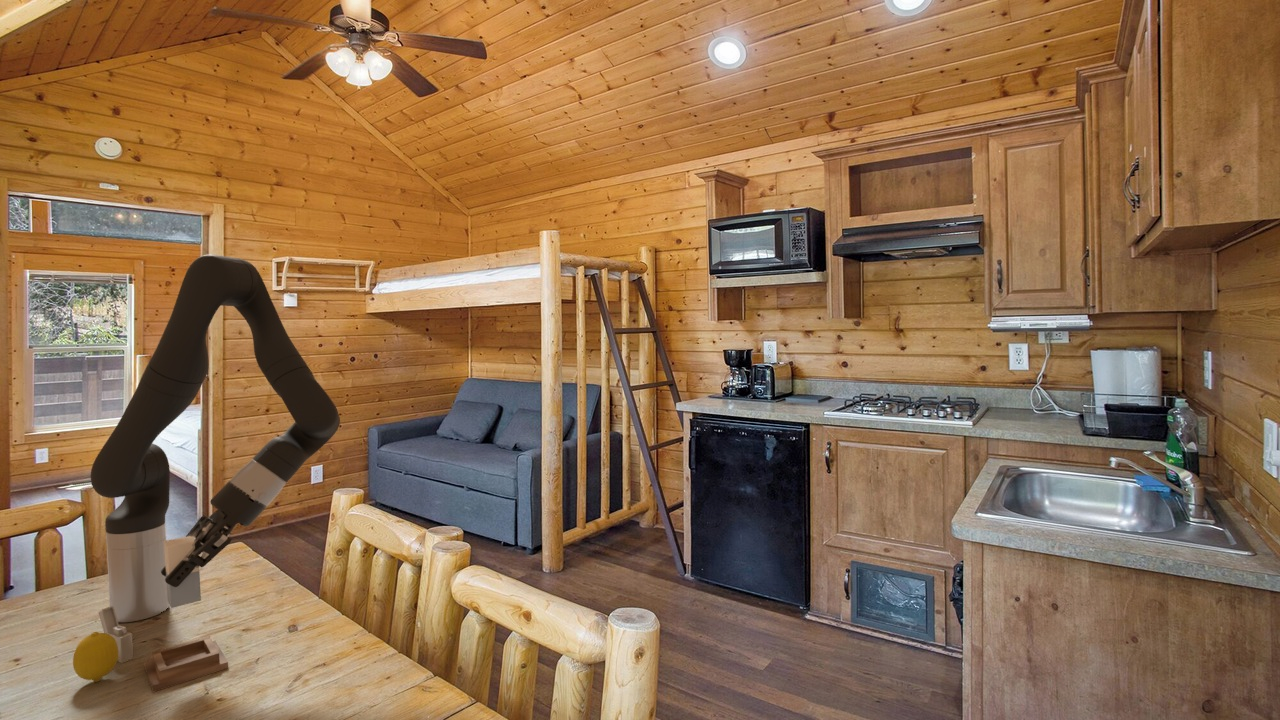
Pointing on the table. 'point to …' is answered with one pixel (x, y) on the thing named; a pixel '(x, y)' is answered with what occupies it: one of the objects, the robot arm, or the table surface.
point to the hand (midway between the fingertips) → (168, 579)
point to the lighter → (117, 633)
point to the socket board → (184, 663)
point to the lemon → (95, 656)
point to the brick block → (191, 584)
